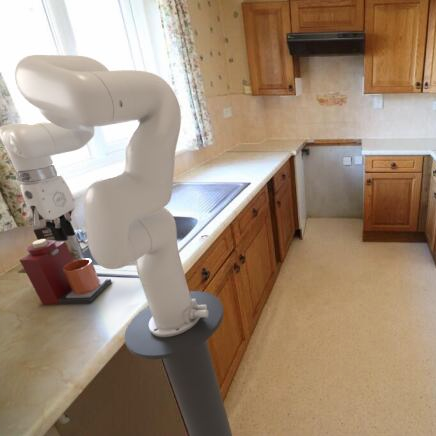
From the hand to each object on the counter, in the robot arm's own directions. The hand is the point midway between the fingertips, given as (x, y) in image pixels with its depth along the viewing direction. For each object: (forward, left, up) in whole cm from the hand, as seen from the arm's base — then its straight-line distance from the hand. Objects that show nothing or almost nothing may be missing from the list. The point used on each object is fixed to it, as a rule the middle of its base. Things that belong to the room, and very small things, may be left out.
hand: (65, 237), depth 89 cm
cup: (0, 0, -17) cm, 17 cm away
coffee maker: (+1, 0, -19) cm, 19 cm away
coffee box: (+20, -17, -19) cm, 32 cm away
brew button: (+8, 0, -3) cm, 8 cm away
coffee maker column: (+8, 0, -19) cm, 21 cm away
